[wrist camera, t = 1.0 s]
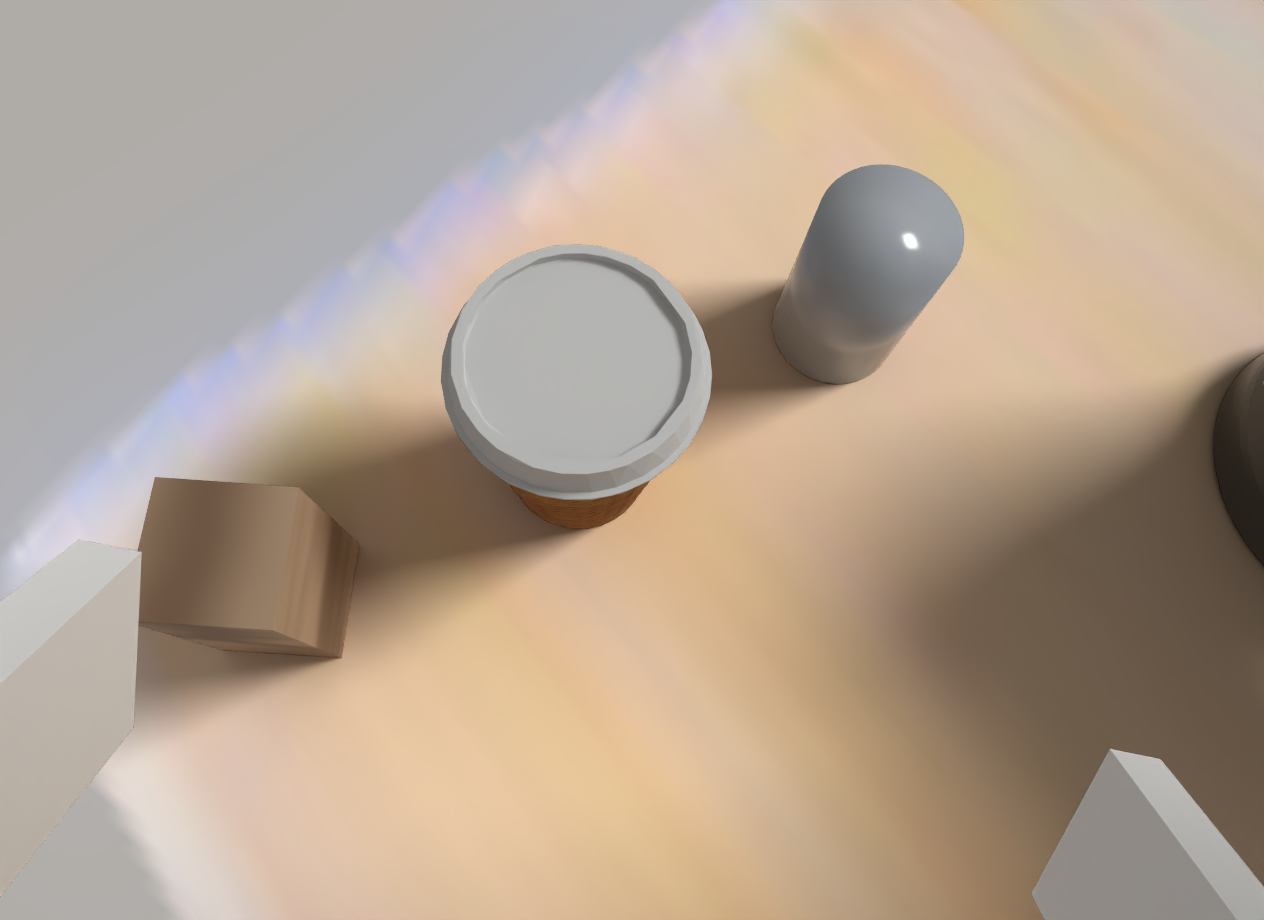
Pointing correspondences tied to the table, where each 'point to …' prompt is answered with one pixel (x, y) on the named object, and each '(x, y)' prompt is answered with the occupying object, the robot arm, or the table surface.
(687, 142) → the table surface
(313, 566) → the walnut block
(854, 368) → the grey rounded cylinder
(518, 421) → the disposable coffee cup
